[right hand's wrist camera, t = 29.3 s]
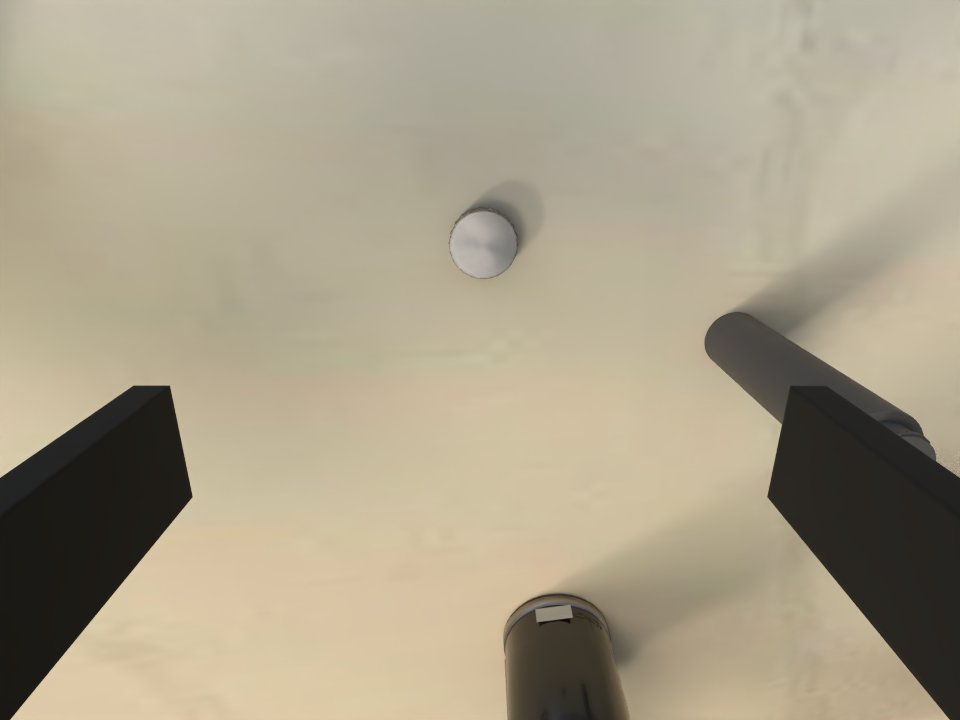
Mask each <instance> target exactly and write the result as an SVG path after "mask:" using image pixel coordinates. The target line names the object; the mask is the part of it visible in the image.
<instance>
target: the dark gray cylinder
mask: <svg viewBox="0 0 960 720" xmlns="http://www.w3.org/2000/svg"><path fill="white" fill-rule="evenodd" d="M705 349H706V352H707V354H708V356H709V357H710V358H711V359H712V360H713V361H714V362H715V363H716V364H717V365H718V366H719V367H720V368H721V369H722V370H724V371H725V372H726V373H727V374H728V375H729V376H730V377H731V378H732V379H733V380H734V381H735V382H737V383H738V384H739V385H740V386H741V387H742V388H743V389H744V390H745V391H746V392H747V393H749V394H750V395H751V396H752V397H753V398H754V399H755V400H756V401H757V402H758V403H759V404H760V405H762V406H763V407H764V408H765V409H766V410H767V411H768V412H769V413H770V414H771V415H772V416H773V417H775V418H776V419H777V420H778V421H779V422H780V423H781V424H782V423H783V418H784V413H785V408H786V404H787V399H788V394H789V389H790V386H828V387H829V388H830V389H832V390H833V391H835V392H836V393H838V394H839V395H841V396H842V397H843V398H845V399H846V400H848V401H849V402H851V403H852V404H854V405H855V406H856V407H858V408H859V409H861V410H862V411H864V412H865V413H867V414H868V415H869V416H871V417H872V418H874V419H875V420H877V421H878V422H880V423H881V424H882V425H884V426H885V427H887V428H888V429H890V430H891V431H893V432H894V433H895V434H897V435H898V436H900V437H901V438H903V439H904V440H906V441H907V442H909V443H910V444H911V445H913V446H914V447H916V448H917V449H919V450H920V451H922V452H923V453H924V454H926V455H927V456H929V457H930V458H932V459H933V460H935V461H936V454H935V451H934V449H933V447H932V446H931V445H930V442H929V441H928V440H927V439H926V438H925V437H924V436H923V432H922V429H921V427H920V425H919V424H918V422H917V421H916V420H915V419H914V418H913V417H911V416H910V415H908V414H906V413H905V412H903V411H902V410H900V409H899V408H897V407H895V406H894V405H892V404H891V403H889V402H887V401H886V400H884V399H883V398H881V397H879V396H878V395H876V394H875V393H873V392H871V391H870V390H868V389H867V388H865V387H863V386H862V385H860V384H859V383H857V382H855V381H854V380H852V379H851V378H849V377H847V376H846V375H844V374H843V373H841V372H839V371H838V370H836V369H835V368H833V367H831V366H830V365H828V364H827V363H825V362H824V361H822V360H820V359H819V358H817V357H816V356H814V355H812V354H811V353H809V352H808V351H806V350H804V349H803V348H801V347H800V346H798V345H796V344H795V343H793V342H792V341H790V340H788V339H787V338H785V337H784V336H782V335H780V334H779V333H777V332H776V331H774V330H772V329H771V328H769V327H768V326H766V325H764V324H763V323H761V322H760V321H758V320H756V319H755V318H753V317H752V316H750V315H748V314H745V313H730V314H727V315H724V316H722V317H721V318H719V319H718V320H716V321H715V322H714V323H713V324H712V325H711V327H710V328H709V330H708V332H707V334H706V338H705Z"/></svg>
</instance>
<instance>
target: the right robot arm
mask: <svg viewBox="0 0 960 720" xmlns="http://www.w3.org/2000/svg"><path fill="white" fill-rule="evenodd" d="M191 498H192V492H191V487H190V482H189V477H188V472H187V467H186V462H185V457H184V453H183V448H182V443H181V438H180V433H179V428H178V423H177V418H176V413H175V408H174V404H173V399H172V394H171V389H170V386H132V387H131V388H130V389H128V390H127V391H125V392H124V393H122V394H121V395H119V396H118V397H117V398H115V399H114V400H112V401H111V402H109V403H108V404H106V405H105V406H104V407H102V408H101V409H99V410H98V411H96V412H95V413H93V414H92V415H91V416H89V417H88V418H86V419H85V420H83V421H82V422H80V423H79V424H78V425H76V426H75V427H73V428H72V429H70V430H69V431H67V432H66V433H65V434H63V435H62V436H60V437H59V438H57V439H56V440H54V441H53V442H51V443H50V444H49V445H47V446H46V447H44V448H43V449H41V450H40V451H38V452H37V453H36V454H34V455H33V456H31V457H30V458H28V459H27V460H25V461H24V462H23V463H21V464H20V465H18V466H17V467H15V468H14V469H12V470H11V471H10V472H8V473H7V474H5V475H4V476H2V477H1V478H0V720H10V719H11V718H12V717H13V716H14V714H15V713H16V712H17V711H18V709H19V708H20V707H21V706H22V705H23V703H24V702H25V701H26V700H27V698H28V697H29V696H30V695H31V694H32V692H33V691H34V690H35V689H36V687H37V686H38V685H39V684H40V683H41V681H42V680H43V679H44V678H45V676H46V675H47V674H48V673H49V672H50V670H51V669H52V668H53V667H54V665H55V664H56V663H57V662H58V661H59V659H60V658H61V657H62V656H63V655H64V653H65V652H66V651H67V650H68V648H69V647H70V646H71V645H72V644H73V642H74V641H75V640H76V639H77V637H78V636H79V635H80V634H81V633H82V631H83V630H84V629H85V628H86V626H87V625H88V624H89V623H90V622H91V620H92V619H93V618H94V617H95V615H96V614H97V613H98V612H99V611H100V609H101V608H102V607H103V606H104V604H105V603H106V602H107V601H108V600H109V598H110V597H111V596H112V595H113V593H114V592H115V591H116V590H117V589H118V587H119V586H120V585H121V584H122V583H123V581H124V580H125V579H126V578H127V576H128V575H129V574H130V573H131V572H132V570H133V569H134V568H135V567H136V565H137V564H138V563H139V562H140V561H141V559H142V558H143V557H144V556H145V554H146V553H147V552H148V551H149V550H150V548H151V547H152V546H153V545H154V543H155V542H156V541H157V540H158V539H159V537H160V536H161V535H162V534H163V532H164V531H165V530H166V529H167V528H168V526H169V525H170V524H171V523H172V521H173V520H174V519H175V518H176V517H177V515H178V514H179V513H180V512H181V511H182V509H183V508H184V507H185V506H186V504H187V503H188V502H189V501H190V500H191ZM768 498H769V500H770V501H771V502H772V503H773V504H774V506H775V507H776V508H777V509H778V511H779V512H780V513H781V514H782V515H783V517H784V518H785V519H786V520H787V521H788V523H789V524H790V525H791V526H792V528H793V529H794V530H795V531H796V532H797V534H798V535H799V536H800V537H801V539H802V540H803V541H804V542H805V543H806V545H807V546H808V547H809V548H810V550H811V551H812V552H813V553H814V554H815V556H816V557H817V558H818V559H819V561H820V562H821V563H822V564H823V565H824V567H825V568H826V569H827V570H828V572H829V573H830V574H831V575H832V576H833V578H834V579H835V580H836V581H837V583H838V584H839V585H840V586H841V587H842V589H843V590H844V591H845V592H846V593H847V595H848V596H849V597H850V598H851V600H852V601H853V602H854V603H855V604H856V606H857V607H858V608H859V609H860V611H861V612H862V613H863V614H864V615H865V617H866V618H867V619H868V620H869V622H870V623H871V624H872V625H873V626H874V628H875V629H876V630H877V631H878V633H879V634H880V635H881V636H882V637H883V639H884V640H885V641H886V642H887V644H888V645H889V646H890V647H891V648H892V650H893V651H894V652H895V653H896V655H897V656H898V657H899V658H900V659H901V661H902V662H903V663H904V664H905V665H906V667H907V668H908V669H909V670H910V672H911V673H912V674H913V675H914V676H915V678H916V679H917V680H918V681H919V683H920V684H921V685H922V686H923V687H924V689H925V690H926V691H927V692H928V694H929V695H930V696H931V697H932V698H933V700H934V701H935V702H936V703H937V705H938V706H939V707H940V708H941V709H942V711H943V712H944V713H945V714H946V716H947V717H948V718H949V719H950V720H960V478H959V477H958V476H956V475H955V474H953V473H952V472H950V471H949V470H948V469H946V468H945V467H943V466H942V465H940V464H939V463H937V462H936V461H935V460H933V459H932V458H930V457H929V456H927V455H926V454H924V453H923V452H922V451H920V450H919V449H917V448H916V447H914V446H913V445H911V444H910V443H909V442H907V441H906V440H904V439H903V438H901V437H900V436H898V435H897V434H895V433H894V432H893V431H891V430H890V429H888V428H887V427H885V426H884V425H882V424H881V423H880V422H878V421H877V420H875V419H874V418H872V417H871V416H869V415H868V414H867V413H865V412H864V411H862V410H861V409H859V408H858V407H856V406H855V405H854V404H852V403H851V402H849V401H848V400H846V399H845V398H843V397H842V396H841V395H839V394H838V393H836V392H835V391H833V390H832V389H830V388H829V387H828V386H790V389H789V394H788V399H787V404H786V408H785V413H784V418H783V423H782V428H781V433H780V438H779V443H778V448H777V453H776V457H775V462H774V467H773V472H772V477H771V482H770V487H769V492H768Z"/></svg>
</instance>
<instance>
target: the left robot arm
mask: <svg viewBox="0 0 960 720" xmlns="http://www.w3.org/2000/svg"><path fill="white" fill-rule="evenodd" d="M503 638H504V652H505V656H506V659H505V675H506V696H507V717H508V720H630V716H629V712H628V708H627V704H626V700H625V697H624V693H623V689H622V685H621V681H620V678H619V674H618V670H617V666H616V662H615V658H614V655H613V651H612V647H611V641H610V635H609V631H608V627H607V624H606V621H605V619H604V617H603V616H602V614H601V613H600V612H599V611H598V610H597V609H596V608H595V607H594V606H592V605H591V604H589V603H587V602H585V601H583V600H581V599H578V598H575V597H570V596H560V595H556V596H546V597H542V598H538V599H535V600H533V601H530V602H528V603H526V604H525V605H523V606H522V607H520V608H519V609H518V610H517V611H516V612H515V613H514V614H513V615H512V616H511V617H510V619H509V620H508V622H507V624H506V627H505V630H504V637H503Z"/></svg>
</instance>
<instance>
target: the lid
mask: <svg viewBox="0 0 960 720" xmlns="http://www.w3.org/2000/svg"><path fill="white" fill-rule="evenodd" d="M513 228H514V226H513V224H511V223H510V222H509V220H508V218H507V216H506V217H505V216H504V215H502V214H501V213H500V211H498V212H497V211H495V210H492V209H491V208H489V209H487V208H481V207H479V209H475V210H470V211H469V212H467V213H466V214H464V215H463V214H462V215H461V218H460V219H459V220H458V221H457V222H455V226H454V228H453V230H451V233H450V234H451V237H450V240H449V244H450V253H451V256H452V258H453V260H454V262H455V264H456V265H457V266H458V268H459V269H460V270H462V271H463V272H464V273H466V274H467V275H469V276H472V277H475V278H480V279H486V278H492V277H495V276H498V275H499V274H501V273H503V272H504V271H505V270H506V269H507V268H508V267H509V266H510V265H511V264H512V262H513V260H514V258H515V256H516V251H517V247H518V244H517V238H516V237H517V234H516V233H515V231H514V229H513Z"/></svg>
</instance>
